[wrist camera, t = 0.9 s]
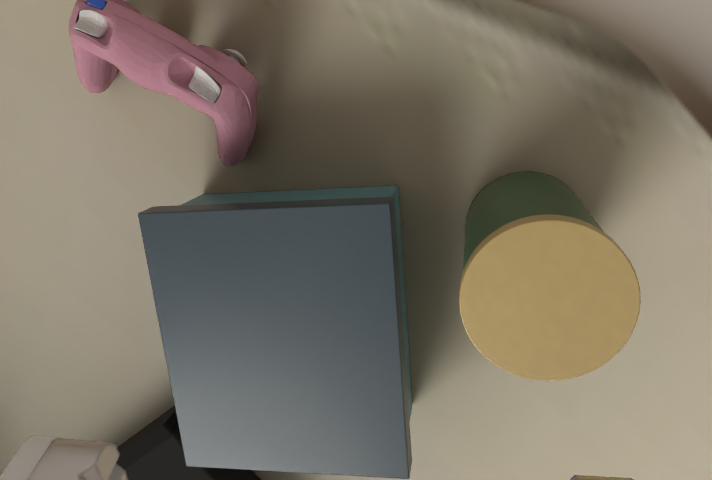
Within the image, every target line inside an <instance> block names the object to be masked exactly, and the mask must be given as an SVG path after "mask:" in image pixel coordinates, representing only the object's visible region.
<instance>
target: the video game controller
mask: <svg viewBox="0 0 712 480" xmlns="http://www.w3.org/2000/svg"><path fill="white" fill-rule="evenodd" d="M69 34H70V38H71V42H72V46H73V50H74V56H75V62H76V68H77V72H78V76H79V80H80V82H81V83H82V85H83V86H84V88H85V89H87V90H88V91H89V92H91V93H101V92H103V91H105V90H106V89H107V88H108V87H109V86H110V84H111V83H112V81H113V80H114V79H115V76H116V74H117V71H118V69H119V70H120V71H121V72H122V73H123V74H124V75H125V76H126V77H128V78H129V79H130V80H131V81H133V82H134V83H136V84H138V85H139V86H141V87H144V88H146V89H149V90H152V91H156V92H161V93H165V94H169V95H171V96H173V97H174V98H176V99H178V100H180V101H182V102H183V103H185V104H187V105H189V106H191V107H193V108H195V109H197V110H199V111H201V112H203V113H205V114H207V115H209V116H210V117H211V118H212V119H213V120H214V122H215V125H216V131H217V142H218V154H219V157H220V159H221V161H222V162H223V164H224V165H226V166H233V165H236V164H237V163H238V162H240V161H241V160H242V159H243V158H244V156H246V154H247V152H248V150H249V148H250V146H251V143H252V140H253V137H254V133H255V128H256V122H257V93H258V91H259V89H260V87H261V86H260V83H259V81H258V80H257V79H256V77H255V76H254V75H253V74H252V73H251V72H249V71H248V70H247V69H246V68H244V67H243V66H247V61H246V60H245V58H244V57H243V55H242V54H241V53H239V52H238V51H236V50H232V49H224V53H225V54H224V53H222V52H220V51H217V50H215V49H213V48H211V47H207V46H203V45H199V46H196V45H195V44H193V43H192V42H190V41H188V40H187V39H185V38H184V37H182V36H180V35H179V34H177V33H175V32H173V31H172V30H170V29H168V28H166V27H164V26H163V25H161V24H159V23H157V22H155V21H153V20H152V19H150V18H148V17H146V16H144V15H142V14H141V13H139V12H138V11H137V10H136V9H135V8H133V7H132V6H131V5H129V4H128V3H127V2H125V1H124V0H77V2H76V4H75V6H74V9H73V12H72V15H71V18H70V22H69ZM242 65H243V66H242Z"/></svg>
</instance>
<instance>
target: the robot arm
mask: <svg viewBox="0 0 712 480" xmlns="http://www.w3.org/2000/svg"><path fill="white" fill-rule="evenodd" d="M119 456H120V453H119V451H118V449H117V446H116V444H115V443H108V442H96V441H85V440H73V439H61V438H52V437H38V436H31V437H29V438H28V439H27V440H26V441H24V442H23V443H22V444H21V445H20V447H19V448H18V450H17V451H16V453H15V454H14V456H13V457H12V459H11V460H10V462H9V463H8V465H7V466H6V468H5V469H4V471H3V472H2V474H1V475H0V480H128V477H127V474H126V471H125V470H124V469H123V468H122V467H121V466H119V465H118V464H117V463H116V462H117V460H118V458H119ZM570 480H633V479H632V478H617V477H599V476H580V475H574V476H573V477H572V478H571V479H570Z"/></svg>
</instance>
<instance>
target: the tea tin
mask: <svg viewBox="0 0 712 480" xmlns="http://www.w3.org/2000/svg"><path fill="white" fill-rule="evenodd" d="M459 306H460V314H461V318H462V322H463V325H464V328H465V330H466V332H467V334H468V336H469V338H470V340H471V341H472V343H473V344H474V345H475V347H476V348H477V349H478V350H479V351H480V352H481V353H482V354H483V355H484V356H485V357H486V358H487V359H488V360H490V361H491V362H492V363H493V364H495V365H496V366H498V367H500V368H502V369H503V370H505V371H508V372H510V373H512V374H514V375H518V376H521V377H524V378H529V379H534V380H546V381H549V380H563V379H569V378H573V377H577V376H581V375H583V374H586V373H588V372H591V371H593V370H595V369H596V368H598V367H600V366H602V365H603V364H605V363H606V362H607V361H609V360H610V359H611V358H612V357H613V356H615V355H616V354H617V353H618V352H619V351H620V349H621V348H622V347H623V346H624V345H625V344H626V342H627V340H628V339H629V337H630V336H631V334H632V332H633V330H634V327H635V325H636V322H637V319H638V315H639V310H640V288H639V283H638V279H637V276H636V273H635V270H634V268H633V266H632V264H631V263H630V261H629V259H628V258H627V256H626V255H625V254H624V252H623V251H622V250H621V248H620V247H619V246H618V245H617V244H616V243H615V242H614V241H613V240H612V239H611V237H609V236H608V235H607V234H605V233H604V231H603V230H602V229H601V227H600V226H599V225H598V224H597V222H596V221H595V220H594V218H593V217H592V216H591V214H590V213H589V212H588V211H587V209H586V208H585V207H584V205H583V204H582V203H581V201H580V200H579V199H578V198H577V196H576V195H575V194H574V192H573V191H572V190H571V189H570V188H569V187H568V186H566V185H565V184H564V183H563V182H561V181H559V180H558V179H556V178H554V177H551V176H549V175H546V174H542V173H537V172H517V173H512V174H508V175H505V176H503V177H500V178H498V179H496V180H495V181H493V182H491V183H490V184H489V185H487V186H486V187H485V188H484V189H483V190H482V191H481V192H480V193H479V194H478V195H477V196H476V198H475V199H474V201H473V203H472V205H471V207H470V209H469V211H468V215H467V218H466V225H465V247H464V269H463V274H462V278H461V284H460V296H459Z"/></svg>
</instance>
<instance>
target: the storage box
mask: <svg viewBox="0 0 712 480" xmlns="http://www.w3.org/2000/svg"><path fill="white" fill-rule="evenodd" d="M138 217H139V222H140V227H141V232H142V237H143V243H144V248H145V253H146V258H147V264H148V269H149V274H150V279H151V284H152V290H153V295H154V300H155V305H156V310H157V316H158V321H159V326H160V331H161V336H162V342H163V347H164V352H165V357H166V362H167V368H168V373H169V378H170V383H171V389H172V394H173V399H174V404H175V409H176V415H177V420H178V425H179V430H180V435H181V441H182V446H183V451H184V456H185V461H186V466H189V467H207V468H224V469H242V470H260V471H278V472H295V473H313V474H331V475H349V476H366V477H384V478H402V479H409V477H410V470H411V464H412V456H411V441H410V426H409V421H410V415H411V410H412V391H411V376H410V361H409V345H408V330H407V315H406V299H405V284H404V269H403V253H402V238H401V223H400V207H399V192H398V186H397V185H395V186H373V187H352V188H330V189H309V190H287V191H266V192H244V193H223V194H203V195H200V196H198V197H196V198H194V199H192V200H190V201H188V202H186V203H184V204H182V205H180V206H158V207H151V208H149V209H147V210H145V211H143V212H140V213H138Z"/></svg>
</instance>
